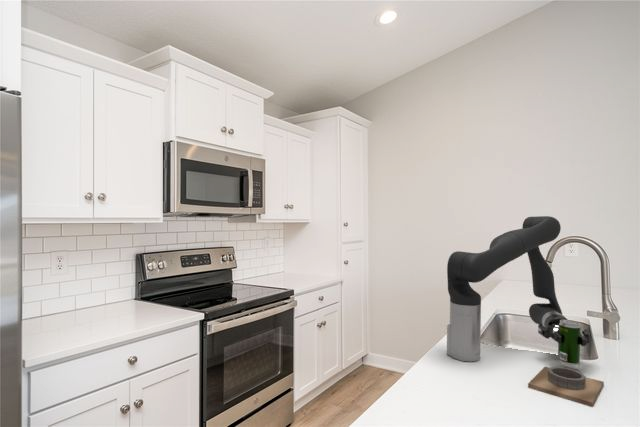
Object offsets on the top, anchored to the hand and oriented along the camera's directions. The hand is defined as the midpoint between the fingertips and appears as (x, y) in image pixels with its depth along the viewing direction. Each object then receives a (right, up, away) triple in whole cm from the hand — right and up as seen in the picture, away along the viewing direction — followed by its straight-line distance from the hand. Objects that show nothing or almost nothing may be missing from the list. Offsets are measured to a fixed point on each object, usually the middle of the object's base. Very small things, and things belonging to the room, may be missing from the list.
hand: (571, 341), depth 110 cm
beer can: (+1, -7, +2) cm, 8 cm away
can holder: (-7, -9, -9) cm, 15 cm away
